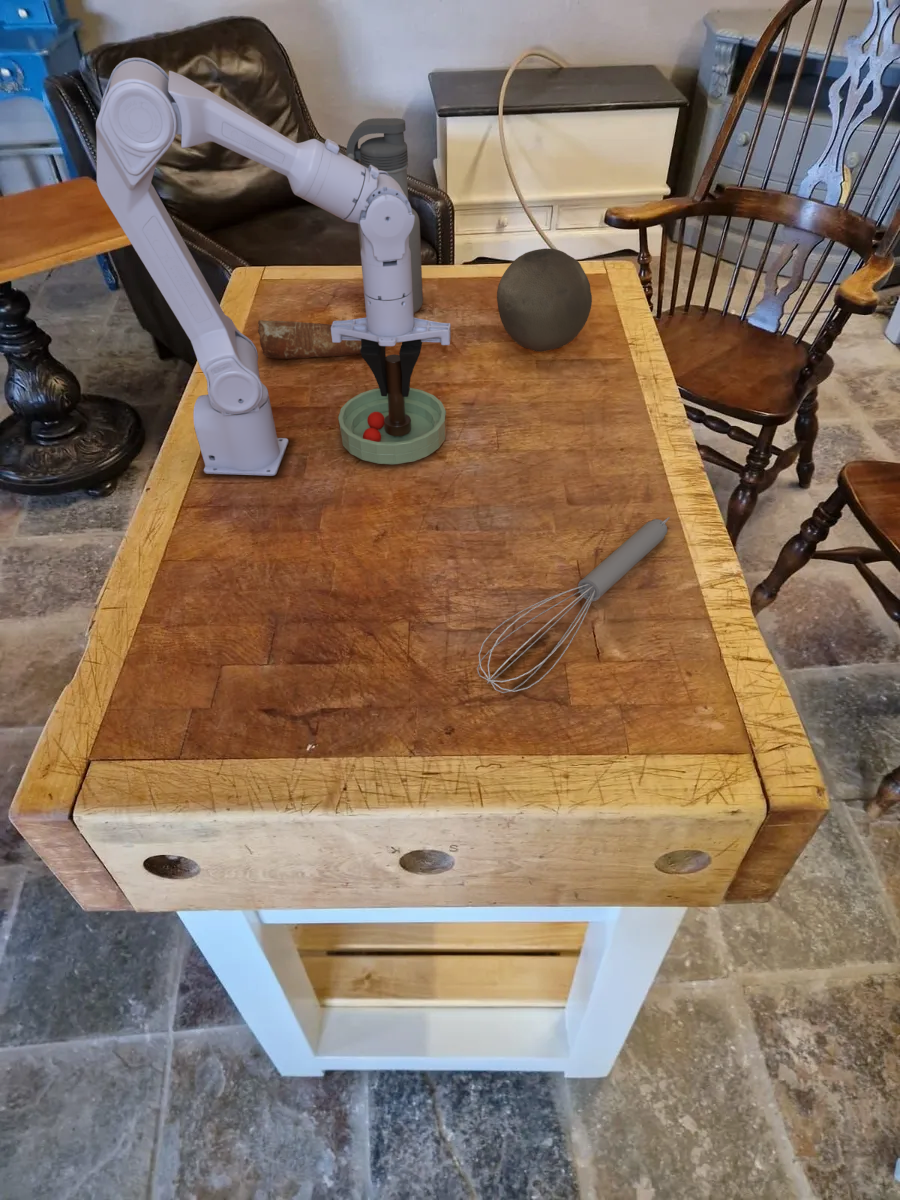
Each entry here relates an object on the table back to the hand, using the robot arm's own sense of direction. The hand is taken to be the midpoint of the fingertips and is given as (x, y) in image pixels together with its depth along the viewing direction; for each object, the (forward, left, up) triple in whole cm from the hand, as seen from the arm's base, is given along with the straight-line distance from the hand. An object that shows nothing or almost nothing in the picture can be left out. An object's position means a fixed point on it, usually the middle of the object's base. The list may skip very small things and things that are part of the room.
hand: (395, 392), depth 104 cm
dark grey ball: (+19, +25, -7) cm, 32 cm away
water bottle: (-6, +39, -7) cm, 40 cm away
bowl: (-1, 0, -7) cm, 7 cm away
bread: (-15, +23, -7) cm, 28 cm away
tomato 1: (-3, +1, -5) cm, 6 cm away
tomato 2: (-3, -3, -5) cm, 7 cm away
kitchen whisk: (+23, -31, -7) cm, 39 cm away
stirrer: (0, 0, -6) cm, 6 cm away
